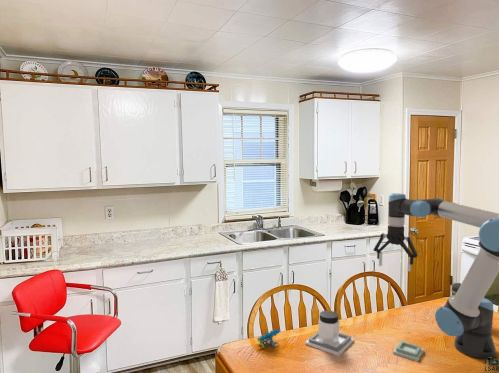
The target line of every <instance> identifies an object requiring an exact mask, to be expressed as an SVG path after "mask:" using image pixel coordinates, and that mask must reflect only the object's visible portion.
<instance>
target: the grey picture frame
mask: <svg viewBox="0 0 499 373" xmlns="http://www.w3.org/2000/svg"><path fill="white" fill-rule="evenodd" d="M354 341H355V338H352V336H351V335H348V334H345V333H342V332H339V341H338V342H337V343H335V344H334V345H330V344H325V343H322V342H321V341H320V340H319V339H318V331H316V332H315V333H314V334H313V335H312V336H310V337H309V338H308V339H307V340H306V341H305V345H307V346H310V347H313V348H314V349H315V348H316V349H318V350H321V351H324V352H326V353H329V354H332V355H335V356H338V357H340V356H341V355H342V354H343V353H344V352H345V351H346V350H347V349H348V348H349V347H350V346H351V344H353V343H354Z"/></svg>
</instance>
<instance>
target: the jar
mask: <svg viewBox="0 0 499 373" xmlns="http://www.w3.org/2000/svg"><path fill="white" fill-rule="evenodd" d="M317 332H318V339H319V340H320V341H321V342H322V343H325V344H330V345H334V344H335V343H337V342H338V341H339V333H340V320H339V313H337V312H335V311H334V310H322V311H320V312H319V318H318V331H317Z"/></svg>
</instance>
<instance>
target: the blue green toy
mask: <svg viewBox="0 0 499 373" xmlns="http://www.w3.org/2000/svg"><path fill="white" fill-rule="evenodd" d="M280 332H281V331H280V329H277V328H276V329H274V330H271V331H270V332H266V333H265V334H262V335H261V336H260V337H258V338H256V339H257V340H256V341H257V342H259V344H261V346H262V348H263V349H266V347H265V344H264V343H266V342H269V341H270V344H271V345H272V347H275V346H276V345H275V343H274V341H273V340H274V339H273V337H275V336H277V335H278V334H280Z"/></svg>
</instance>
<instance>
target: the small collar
mask: <svg viewBox="0 0 499 373" xmlns="http://www.w3.org/2000/svg"><path fill="white" fill-rule="evenodd" d="M424 351H425V349H424V348H423V347H421V346H420V345H417V344H414V343H411V342H407V341H404V340H401V341H399V342H398V343H397V345H396V346H395V348H394V349H393V350H392V355H393V354H394V355H397V356H399V357H403V358H406V359H408V360H412V361H415V362H419V360H420V359H421V358H422V356H423V354H424Z"/></svg>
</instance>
